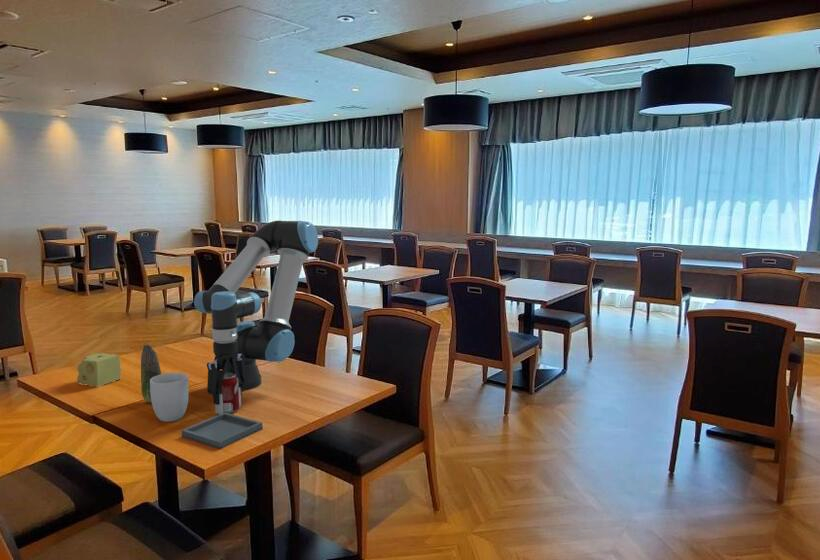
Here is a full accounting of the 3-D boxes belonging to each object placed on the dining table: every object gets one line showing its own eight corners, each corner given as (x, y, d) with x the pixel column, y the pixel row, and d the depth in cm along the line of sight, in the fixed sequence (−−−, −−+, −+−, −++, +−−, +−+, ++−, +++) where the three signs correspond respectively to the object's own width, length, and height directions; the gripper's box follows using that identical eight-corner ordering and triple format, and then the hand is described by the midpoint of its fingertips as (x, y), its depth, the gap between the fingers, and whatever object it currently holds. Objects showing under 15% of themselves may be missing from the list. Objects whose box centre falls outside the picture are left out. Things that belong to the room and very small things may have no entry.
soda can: (232, 415, 179) (231, 379, 177) (213, 414, 180) (211, 377, 178) (243, 408, 185) (241, 372, 184) (224, 406, 187) (222, 371, 185)
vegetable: (142, 399, 193) (138, 342, 190) (162, 397, 195) (159, 341, 192) (142, 405, 187) (138, 347, 184) (162, 403, 190) (158, 345, 187)
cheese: (77, 384, 208) (75, 358, 207) (102, 376, 218) (101, 351, 217) (97, 388, 204) (95, 361, 203) (122, 379, 214) (120, 354, 213)
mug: (140, 415, 179) (137, 375, 177) (173, 406, 187) (171, 367, 185) (162, 427, 169) (160, 385, 167) (196, 417, 178) (194, 377, 176)
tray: (181, 436, 163) (181, 430, 162) (225, 418, 176) (224, 412, 176) (220, 449, 155) (219, 442, 154) (262, 429, 168) (262, 422, 168)
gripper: (208, 349, 169) (212, 422, 172) (256, 335, 186) (259, 402, 189) (191, 345, 173) (195, 417, 176) (240, 332, 190) (243, 398, 193)
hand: (228, 409), depth 183 cm, fingers closed on soda can, 7 cm apart
